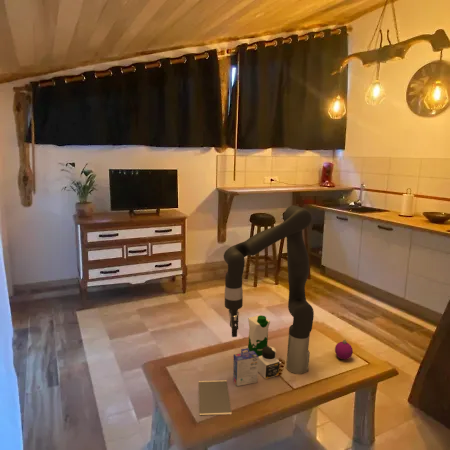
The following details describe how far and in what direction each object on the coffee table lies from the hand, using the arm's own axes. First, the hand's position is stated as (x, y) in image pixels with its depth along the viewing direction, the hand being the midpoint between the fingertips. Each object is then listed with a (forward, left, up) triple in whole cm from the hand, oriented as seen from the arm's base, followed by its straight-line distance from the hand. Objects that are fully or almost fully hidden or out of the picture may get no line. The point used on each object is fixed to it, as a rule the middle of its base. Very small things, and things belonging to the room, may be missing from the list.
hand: (233, 331), depth 157 cm
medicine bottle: (-17, -2, -22) cm, 28 cm away
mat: (+8, +13, -22) cm, 27 cm away
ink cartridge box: (-6, +3, -22) cm, 23 cm away
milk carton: (-15, -18, -22) cm, 32 cm away
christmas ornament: (-56, -12, -22) cm, 61 cm away
